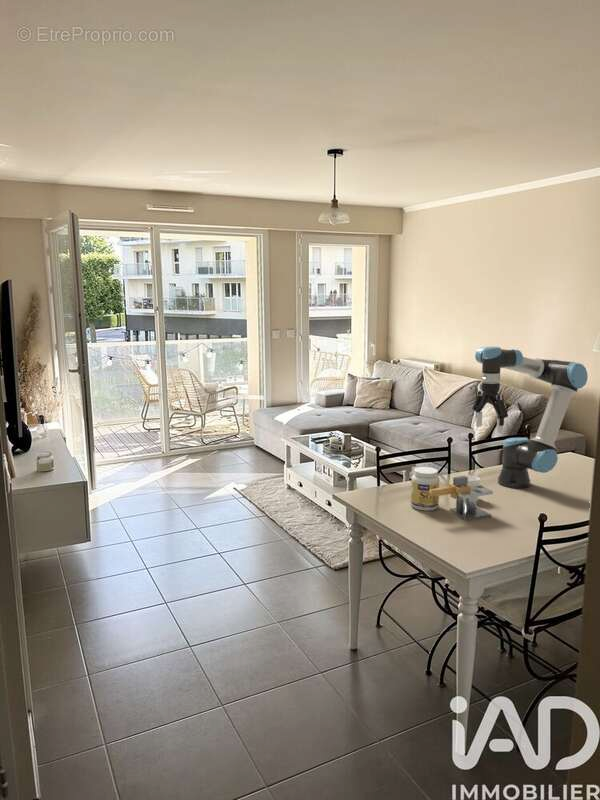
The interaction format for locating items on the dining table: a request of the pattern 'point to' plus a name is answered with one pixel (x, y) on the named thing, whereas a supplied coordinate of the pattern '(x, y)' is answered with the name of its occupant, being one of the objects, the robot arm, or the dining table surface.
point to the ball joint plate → (473, 502)
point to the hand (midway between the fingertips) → (489, 429)
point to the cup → (473, 479)
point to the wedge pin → (459, 501)
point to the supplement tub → (424, 488)
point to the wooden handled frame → (449, 490)
